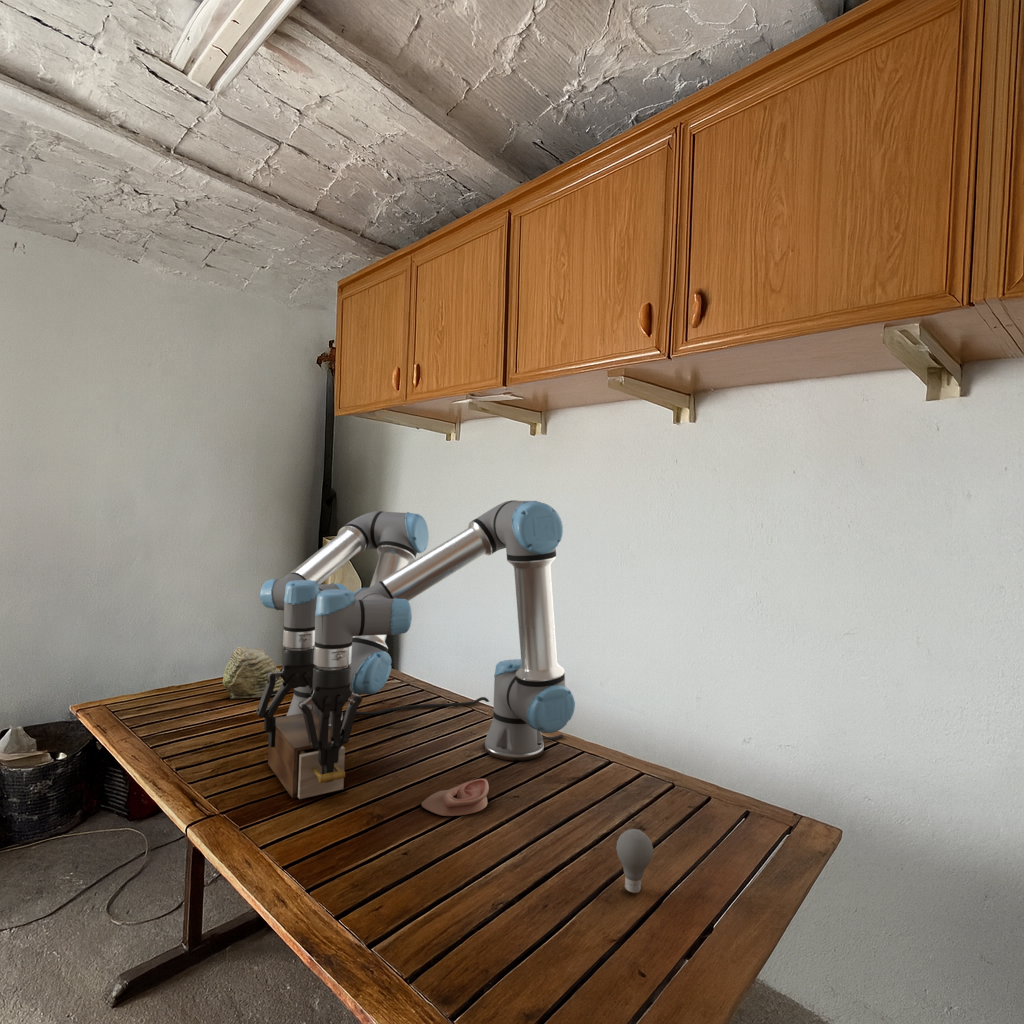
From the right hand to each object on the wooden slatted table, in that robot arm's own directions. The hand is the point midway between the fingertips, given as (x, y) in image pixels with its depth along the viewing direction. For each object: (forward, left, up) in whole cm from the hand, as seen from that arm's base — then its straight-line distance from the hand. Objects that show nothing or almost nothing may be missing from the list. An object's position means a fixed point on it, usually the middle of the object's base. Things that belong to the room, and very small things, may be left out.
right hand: (327, 779), depth 130 cm
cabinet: (+3, -15, -5) cm, 17 cm away
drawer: (+2, -9, -4) cm, 10 cm away
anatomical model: (-25, +8, -5) cm, 27 cm away
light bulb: (-44, +46, -5) cm, 64 cm away
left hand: (+5, -21, 0) cm, 22 cm away
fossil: (+13, -79, -5) cm, 80 cm away
